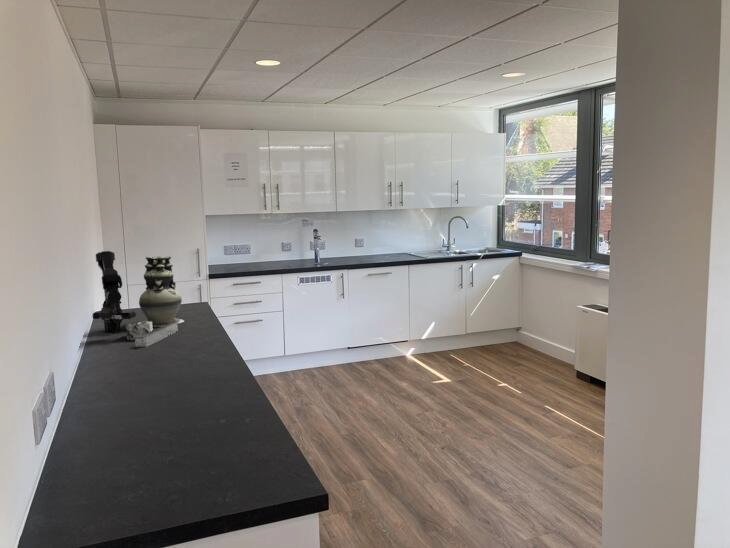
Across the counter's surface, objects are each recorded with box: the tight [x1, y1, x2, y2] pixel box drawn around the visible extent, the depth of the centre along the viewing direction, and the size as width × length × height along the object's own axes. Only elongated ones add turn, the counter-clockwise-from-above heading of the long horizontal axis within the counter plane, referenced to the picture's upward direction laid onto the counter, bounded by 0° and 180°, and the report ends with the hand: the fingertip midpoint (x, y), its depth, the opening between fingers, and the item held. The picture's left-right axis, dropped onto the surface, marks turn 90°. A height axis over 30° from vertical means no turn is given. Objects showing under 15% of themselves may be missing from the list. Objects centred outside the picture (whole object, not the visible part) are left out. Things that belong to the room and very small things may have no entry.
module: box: [136, 320, 154, 331], centre depth 289 cm, size 6×4×5 cm, turn 91°
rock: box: [125, 322, 150, 341], centre depth 277 cm, size 15×10×7 cm
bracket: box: [134, 321, 179, 348], centre depth 273 cm, size 6×29×5 cm, turn 171°
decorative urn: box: [138, 255, 185, 328], centre depth 306 cm, size 21×21×35 cm
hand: (115, 333), depth 277 cm, fingers closed
